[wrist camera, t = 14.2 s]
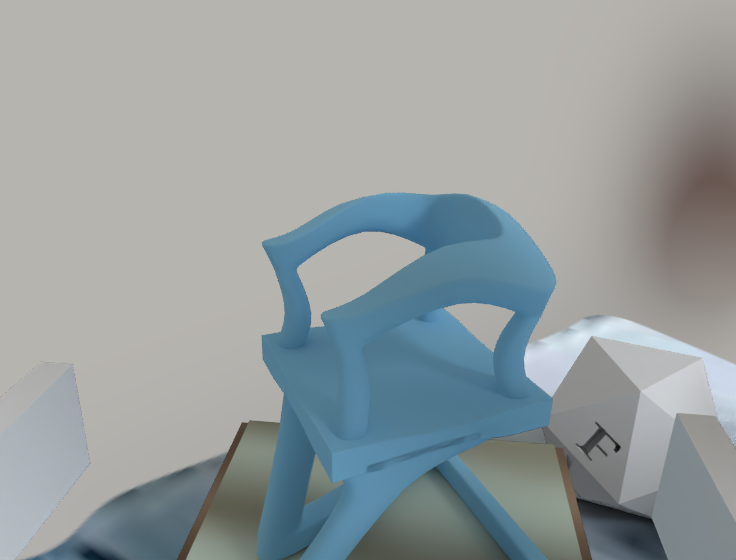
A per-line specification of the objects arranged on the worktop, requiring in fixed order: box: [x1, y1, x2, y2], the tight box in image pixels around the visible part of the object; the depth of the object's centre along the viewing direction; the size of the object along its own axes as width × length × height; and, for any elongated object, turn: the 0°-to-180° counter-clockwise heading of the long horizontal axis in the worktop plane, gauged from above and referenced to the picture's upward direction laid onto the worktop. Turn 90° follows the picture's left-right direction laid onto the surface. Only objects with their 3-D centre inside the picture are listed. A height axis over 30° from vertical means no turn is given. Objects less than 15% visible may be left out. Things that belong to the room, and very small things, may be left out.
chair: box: [256, 193, 556, 560], centre depth 20 cm, size 8×8×12 cm
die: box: [542, 336, 718, 520], centre depth 33 cm, size 8×9×10 cm
